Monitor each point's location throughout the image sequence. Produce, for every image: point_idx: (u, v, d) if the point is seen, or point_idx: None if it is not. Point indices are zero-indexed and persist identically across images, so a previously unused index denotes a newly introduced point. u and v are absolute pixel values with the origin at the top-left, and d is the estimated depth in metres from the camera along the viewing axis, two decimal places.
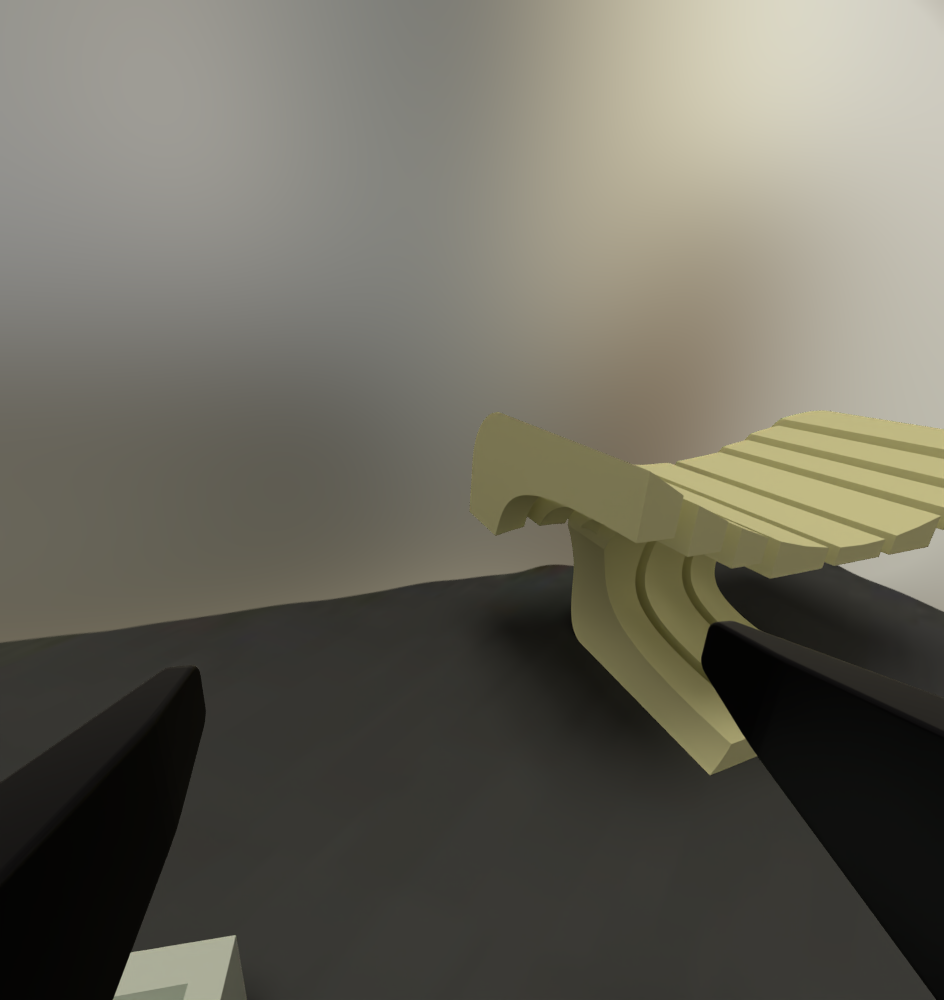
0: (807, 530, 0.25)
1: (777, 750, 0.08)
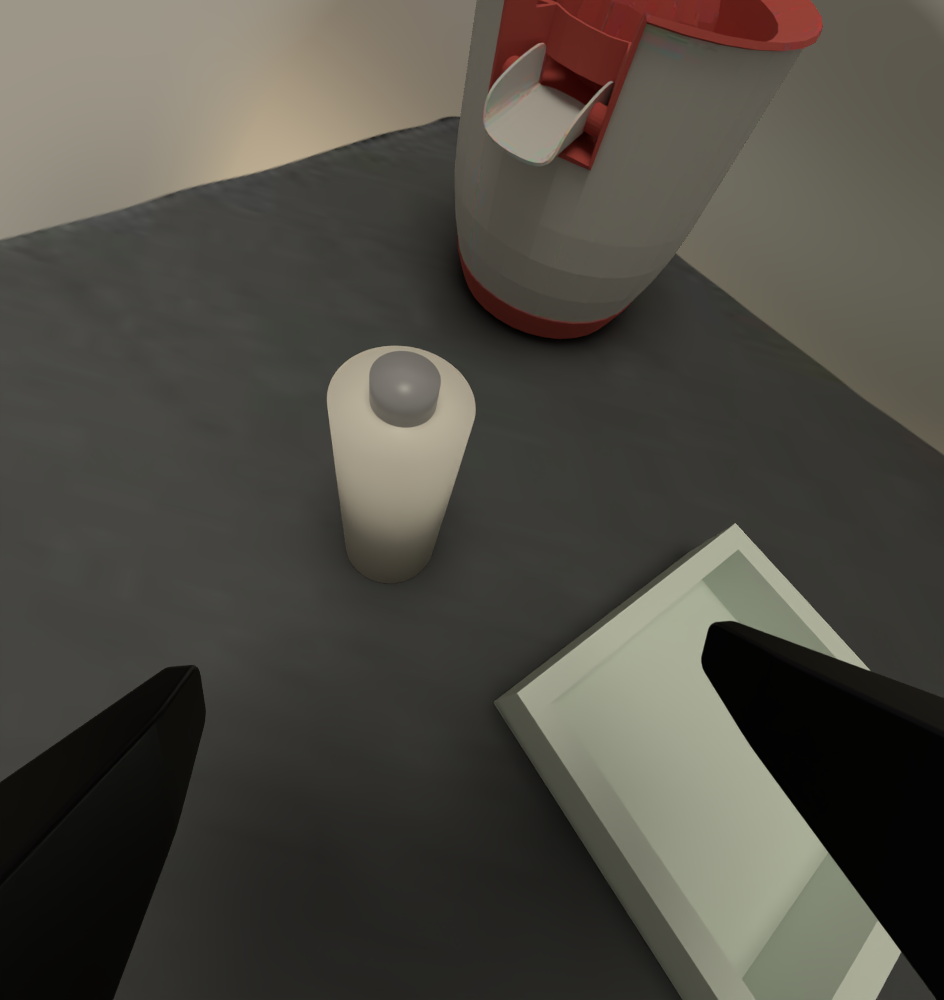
0: None
1: (777, 750, 0.08)
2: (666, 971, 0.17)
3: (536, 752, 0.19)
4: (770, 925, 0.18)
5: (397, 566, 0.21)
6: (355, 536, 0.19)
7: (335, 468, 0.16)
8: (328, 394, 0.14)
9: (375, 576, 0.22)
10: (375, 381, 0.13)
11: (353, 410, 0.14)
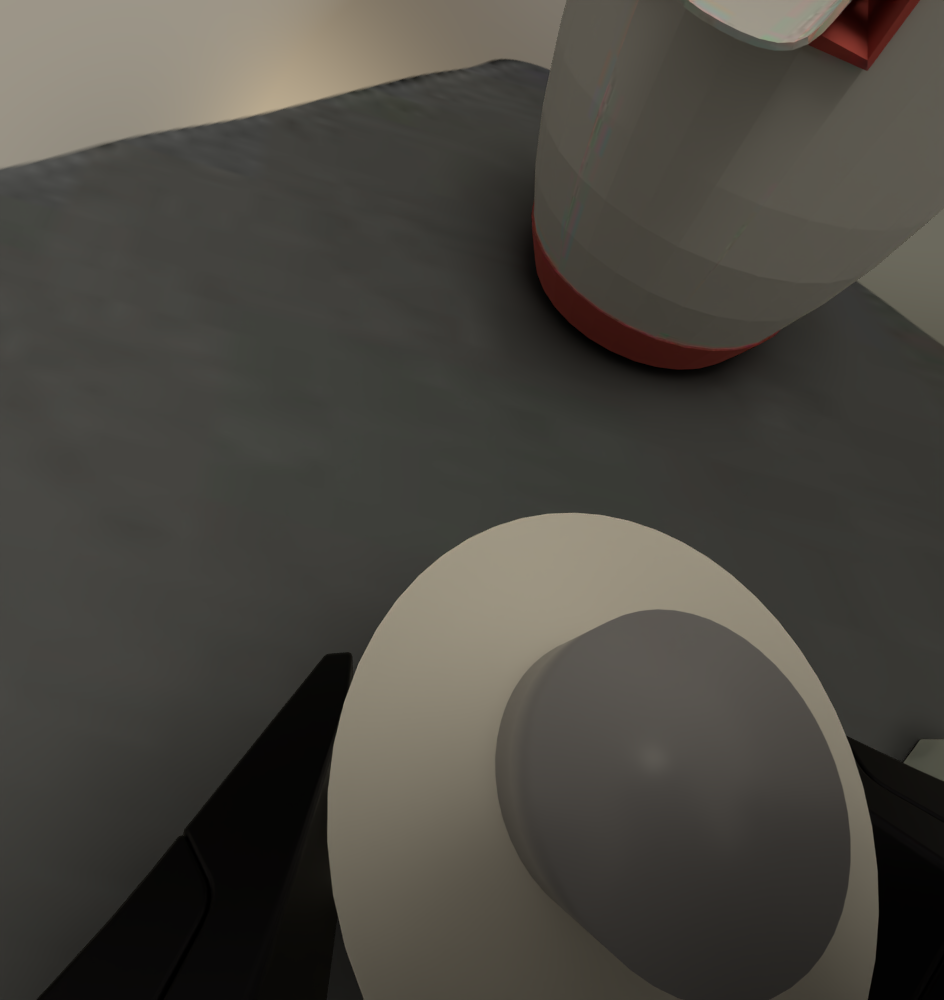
0: None
1: None
2: None
3: None
4: None
5: None
6: None
7: None
8: (334, 781, 0.03)
9: None
10: (573, 837, 0.03)
11: (436, 864, 0.03)
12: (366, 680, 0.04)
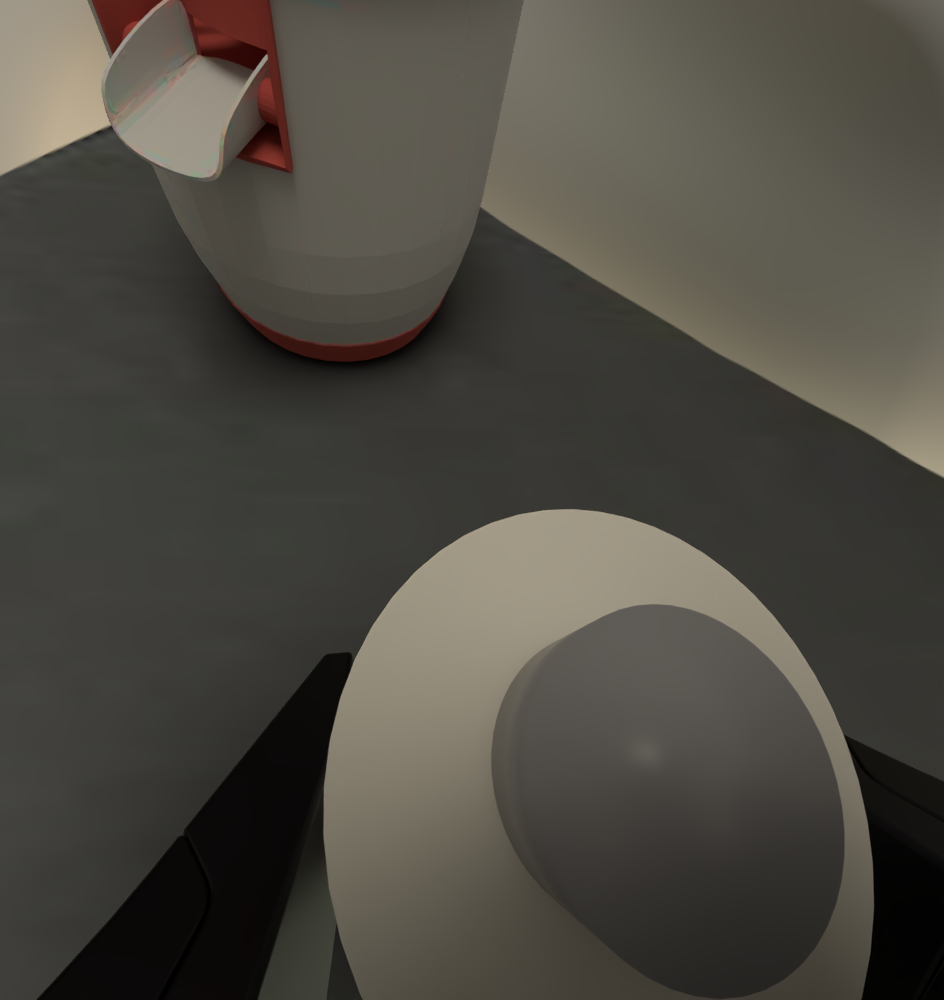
0: None
1: None
2: None
3: None
4: None
5: None
6: None
7: None
8: (330, 777, 0.03)
9: None
10: (567, 830, 0.03)
11: (432, 860, 0.03)
12: (362, 676, 0.04)
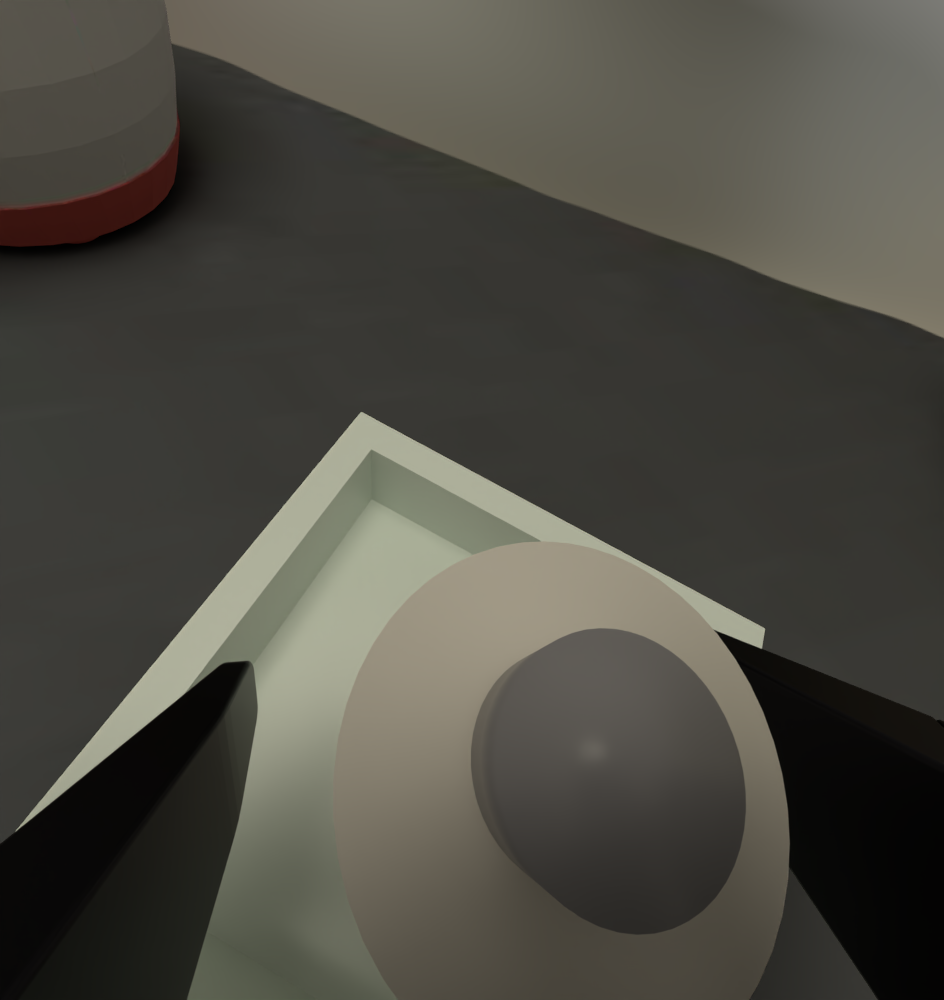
0: None
1: None
2: None
3: None
4: None
5: None
6: None
7: None
8: (338, 769, 0.04)
9: None
10: (523, 808, 0.03)
11: (422, 836, 0.04)
12: (364, 686, 0.04)
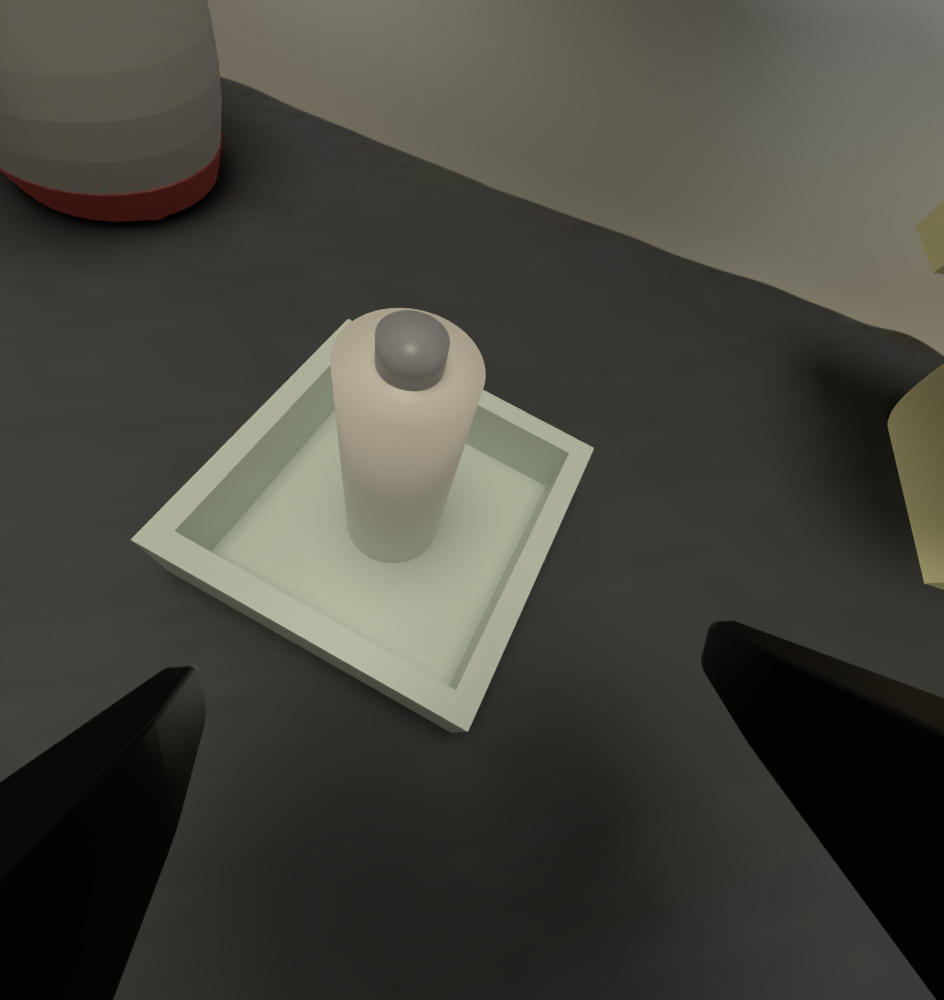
0: None
1: (777, 750, 0.08)
2: (393, 699, 0.20)
3: (206, 589, 0.19)
4: (474, 623, 0.22)
5: (400, 544, 0.20)
6: (357, 511, 0.18)
7: (338, 437, 0.16)
8: (331, 354, 0.13)
9: (377, 555, 0.21)
10: (381, 340, 0.12)
11: (357, 372, 0.13)
12: (340, 337, 0.13)
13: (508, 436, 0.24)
